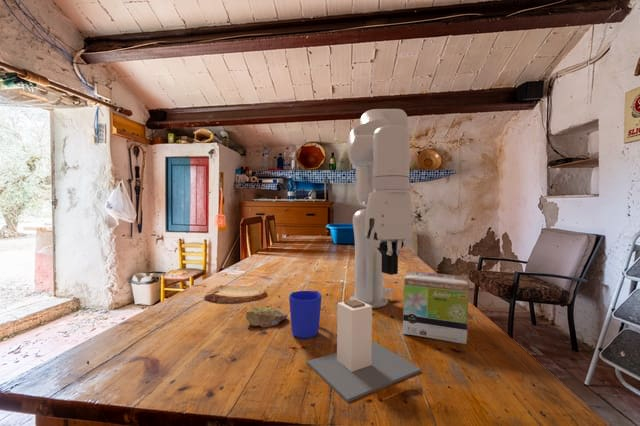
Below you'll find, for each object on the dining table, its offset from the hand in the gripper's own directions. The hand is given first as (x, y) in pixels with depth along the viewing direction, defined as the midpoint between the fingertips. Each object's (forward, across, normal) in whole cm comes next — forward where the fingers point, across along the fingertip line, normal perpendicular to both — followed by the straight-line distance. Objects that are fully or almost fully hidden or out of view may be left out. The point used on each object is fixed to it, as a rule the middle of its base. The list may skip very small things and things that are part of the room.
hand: (389, 273), depth 63 cm
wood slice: (+19, +16, -60) cm, 65 cm away
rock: (+19, +14, -33) cm, 41 cm away
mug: (+19, +8, -21) cm, 29 cm away
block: (+18, +8, -2) cm, 20 cm away
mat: (+19, +7, 0) cm, 20 cm away
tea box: (+19, -20, -4) cm, 28 cm away
